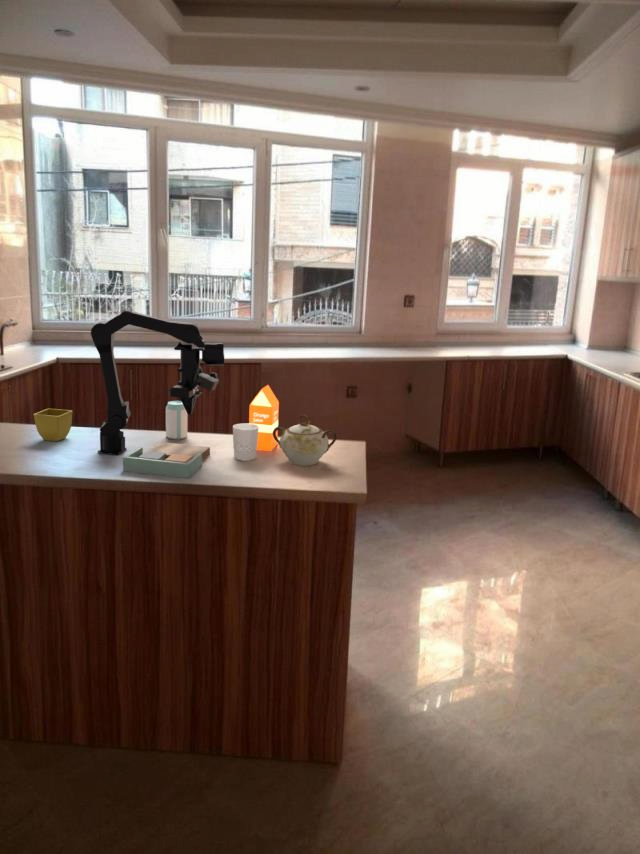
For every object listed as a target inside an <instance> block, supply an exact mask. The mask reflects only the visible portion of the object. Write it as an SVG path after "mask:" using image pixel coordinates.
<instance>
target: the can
mask: <svg viewBox="0 0 640 854" xmlns="http://www.w3.org/2000/svg"><path fill="white" fill-rule="evenodd" d="M165 436H166V437H167V438H168V439H170V440H184V439H185V438H186V437H188V414H187V412H186V410H185V408H184V405H183V403H182V402H181V400H171V401H168V402H167V405H166V406H165Z"/></svg>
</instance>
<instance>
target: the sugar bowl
mask: <svg viewBox="0 0 640 854" xmlns="http://www.w3.org/2000/svg"><path fill="white" fill-rule="evenodd" d="M302 418H304V419H306V420H307V421H306V422H302V421H301V419H302ZM297 419H298V420H297V421H298V424H296V425H295V424H294V425H293V426H290V427H288V428H285V427H284V426H278V427H276V428H275V429H274V430H273V437H274V439H275V440H276V441H277V445H279V447H280V449H281V451H282V452H283V454H284V455H285V456H286V458H287V459H288V461H289V462H290V464H292V465H295V466H302V467H309V466H314V465H316V464H318V462H319V461H320V460H321V458H322V457H323V456H324V455H325V454H326V453H327V452H328V451H329V450H330V448H331V447H333V445H334V444H335V443H336V441H337V434H336V432H335V431H334V430H332V429H327V430H325V431H323V429H322V428H320V427H317V426H315V425H312V424H311V423H310V422H311V419H310V417H309V416H307V415H306V414H301V415H300V416H298V417H297ZM277 430H278V431H281V436H280V438H278V437H276V431H277ZM327 434H331V435H332V436H333V439H332V440H331V442H330V443H329V438H328V435H327Z"/></svg>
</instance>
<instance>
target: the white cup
mask: <svg viewBox="0 0 640 854" xmlns="http://www.w3.org/2000/svg"><path fill="white" fill-rule="evenodd" d="M258 430H259V426H257V425H255V424H249V422H248V423H245V422H244V423H243V422H242V423H236V424H233V425H232V441H233V442H232V443H233V448H232V449H233V457H234V459H236V460H237V461H243V462H246V461H247V462H248V461H253V460H255V459H256V458H257V451H258V450H257V443H258Z"/></svg>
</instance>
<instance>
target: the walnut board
mask: <svg viewBox="0 0 640 854" xmlns="http://www.w3.org/2000/svg"><path fill="white" fill-rule="evenodd" d="M147 451H149V452H161V453H166V459H167V458H168V457H169V456H171V455H172V454H180V455H189V456H193V457H195V456H196V455H197V454H202V462H203V461H205V460H206V459H207V458H208V457H209V456H210V455H211V446H204V445H203V446H201V445H193V444H192V445H191V444H185V443H184V444H183V443H175V442H174V443H173V442H163V441H160V442H159V443H157V444H156V445H154V446H153V447H151V448H150V449H148V450H147Z"/></svg>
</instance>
